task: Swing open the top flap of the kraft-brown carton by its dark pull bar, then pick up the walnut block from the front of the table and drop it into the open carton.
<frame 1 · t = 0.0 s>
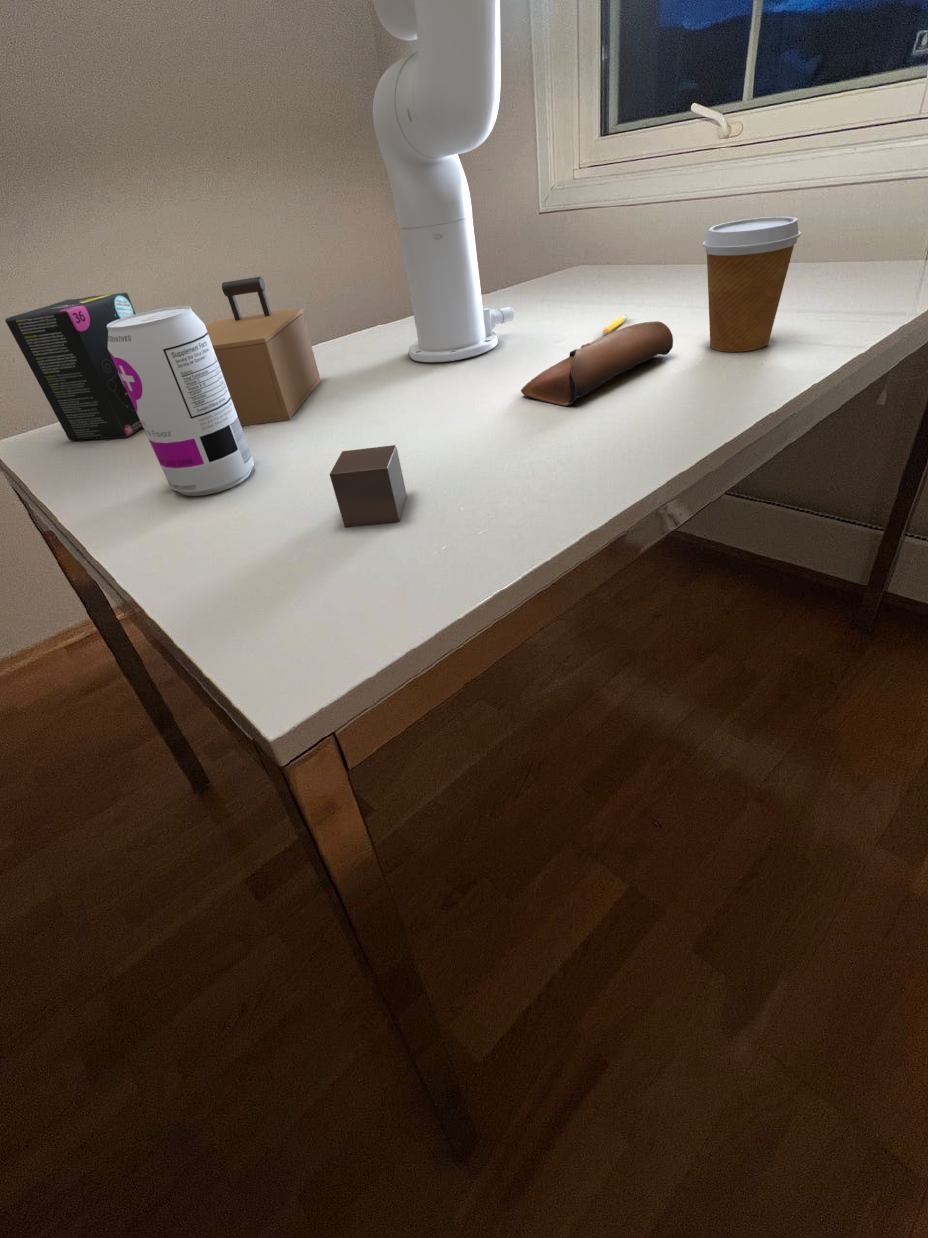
carton: (261, 404, 81), on the table
disposable coffee cup: (738, 345, 73), on the table
block: (376, 510, 52), on the table
pencil: (613, 329, 86), on the table
flap: (231, 310, 75), point 11 cm above the table, hinge at 0.0°
sunglasses case: (597, 378, 71), on the table
supplement can: (216, 481, 62), on the table
tampon box: (124, 425, 83), on the table
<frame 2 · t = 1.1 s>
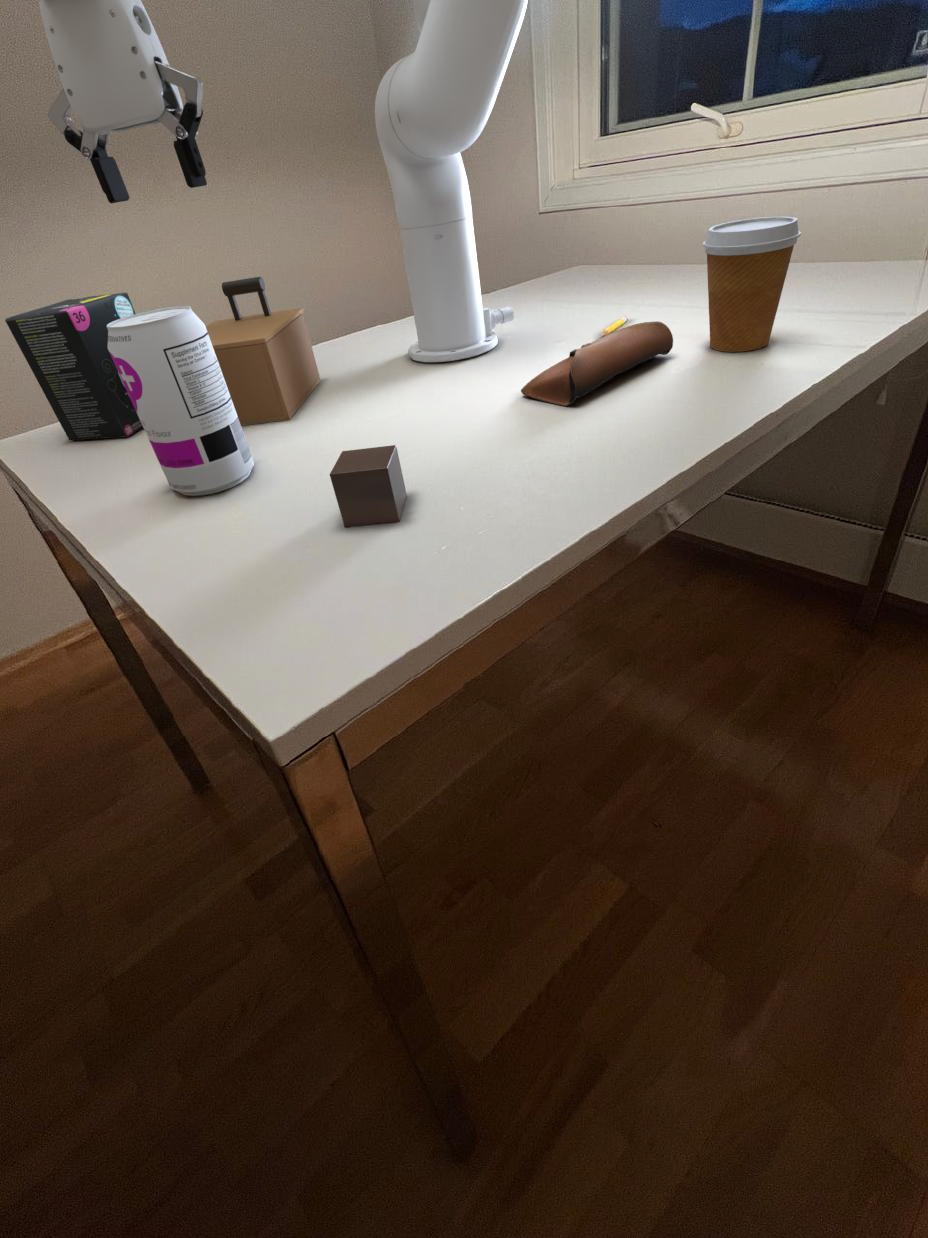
hand: (158, 194, 69), 23 cm above the table, tool pointing down, fingers open, 9 cm apart
nothing on the table moved.
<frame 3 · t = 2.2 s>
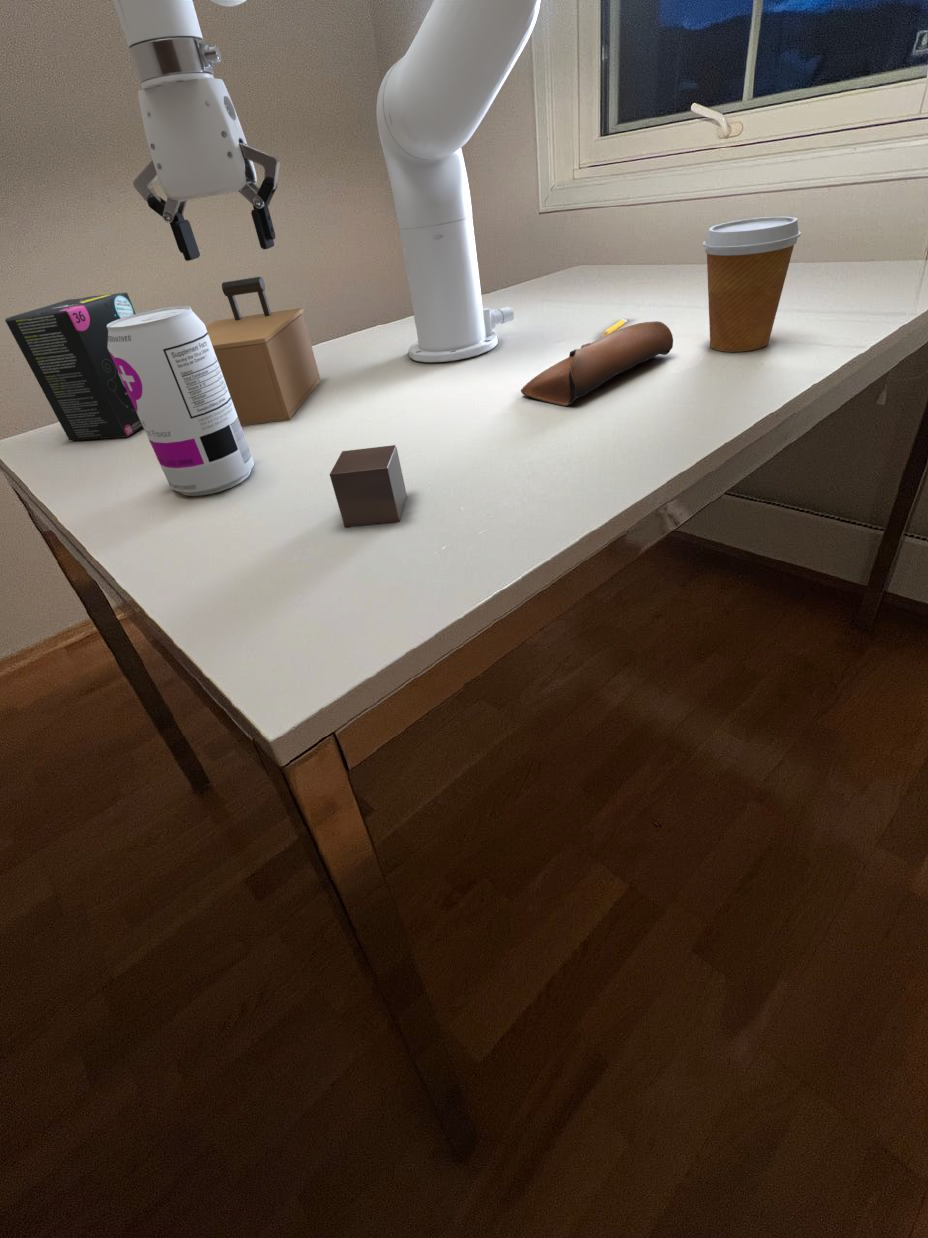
hand: (230, 253, 77), 16 cm above the table, tool pointing down, fingers open, 9 cm apart
nothing on the table moved.
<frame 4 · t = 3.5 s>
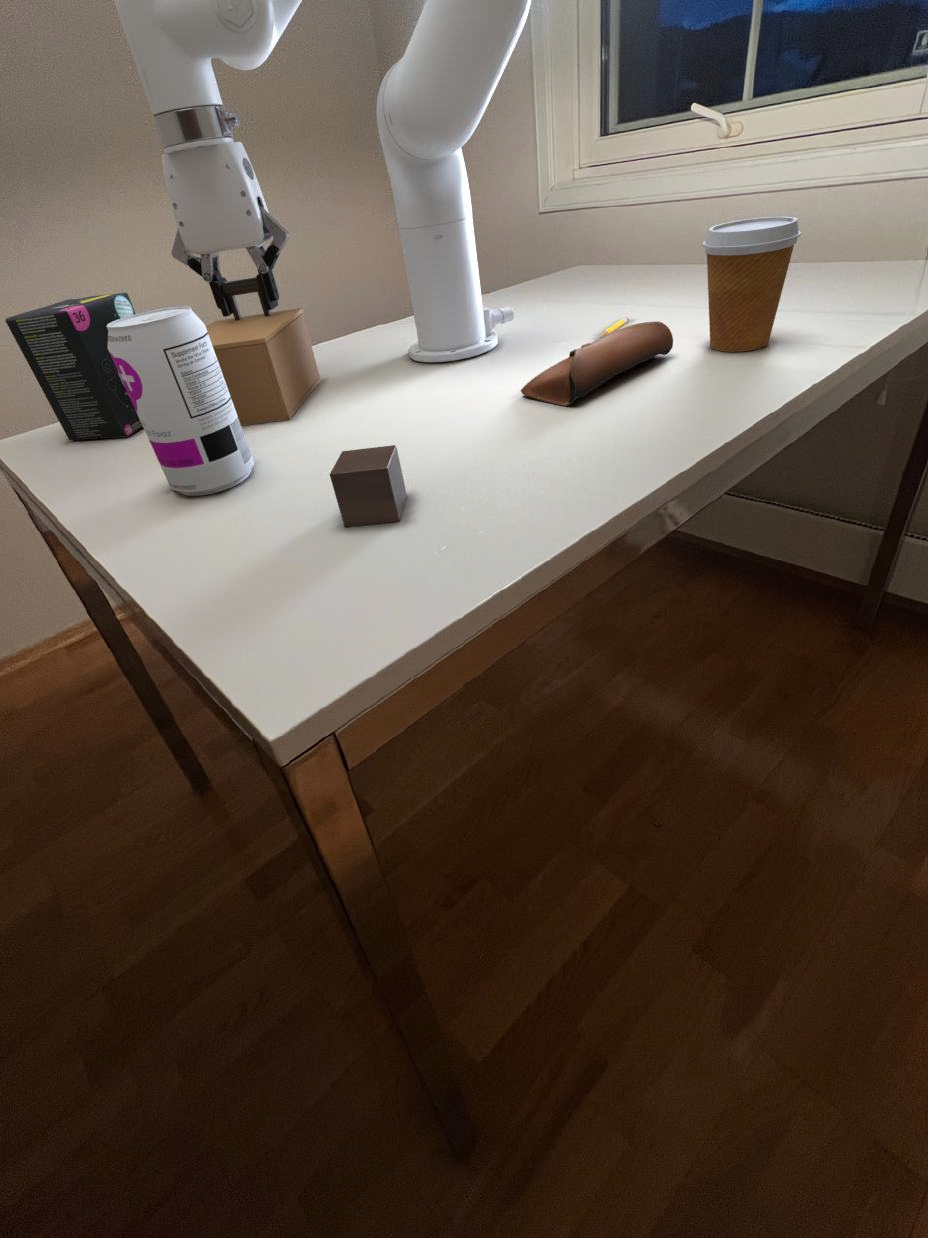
hand: (250, 309, 80), 10 cm above the table, tool pointing down, fingers closed on flap, 5 cm apart
flap: (231, 310, 75), point 11 cm above the table, hinge at 0.0°, touching gripper
everything else where it was.
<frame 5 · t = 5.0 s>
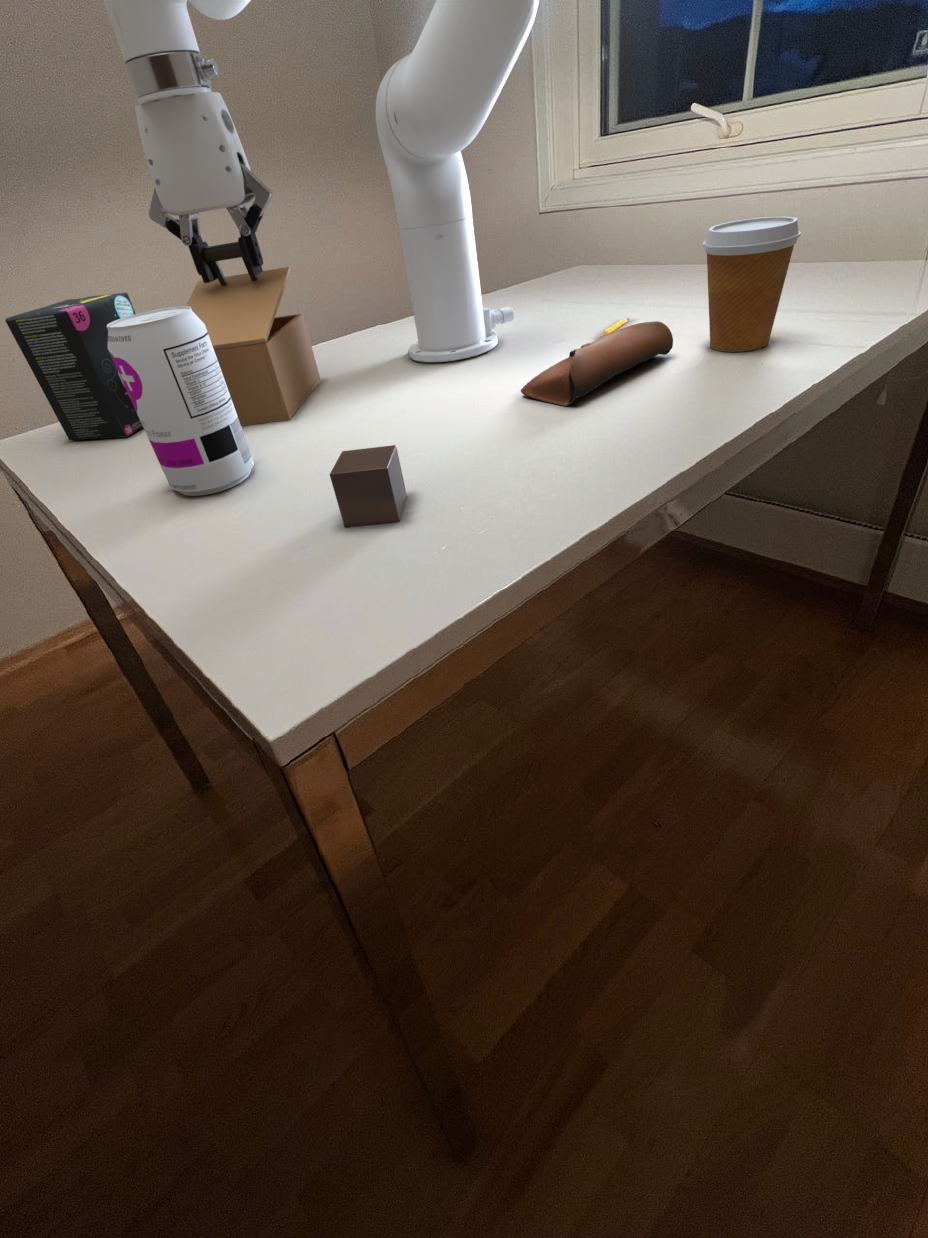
hand: (233, 275, 76), 14 cm above the table, tool pointing down, fingers closed on flap, 5 cm apart
flap: (221, 291, 73), point 13 cm above the table, hinge at 18.0°, touching gripper
everything else where it was.
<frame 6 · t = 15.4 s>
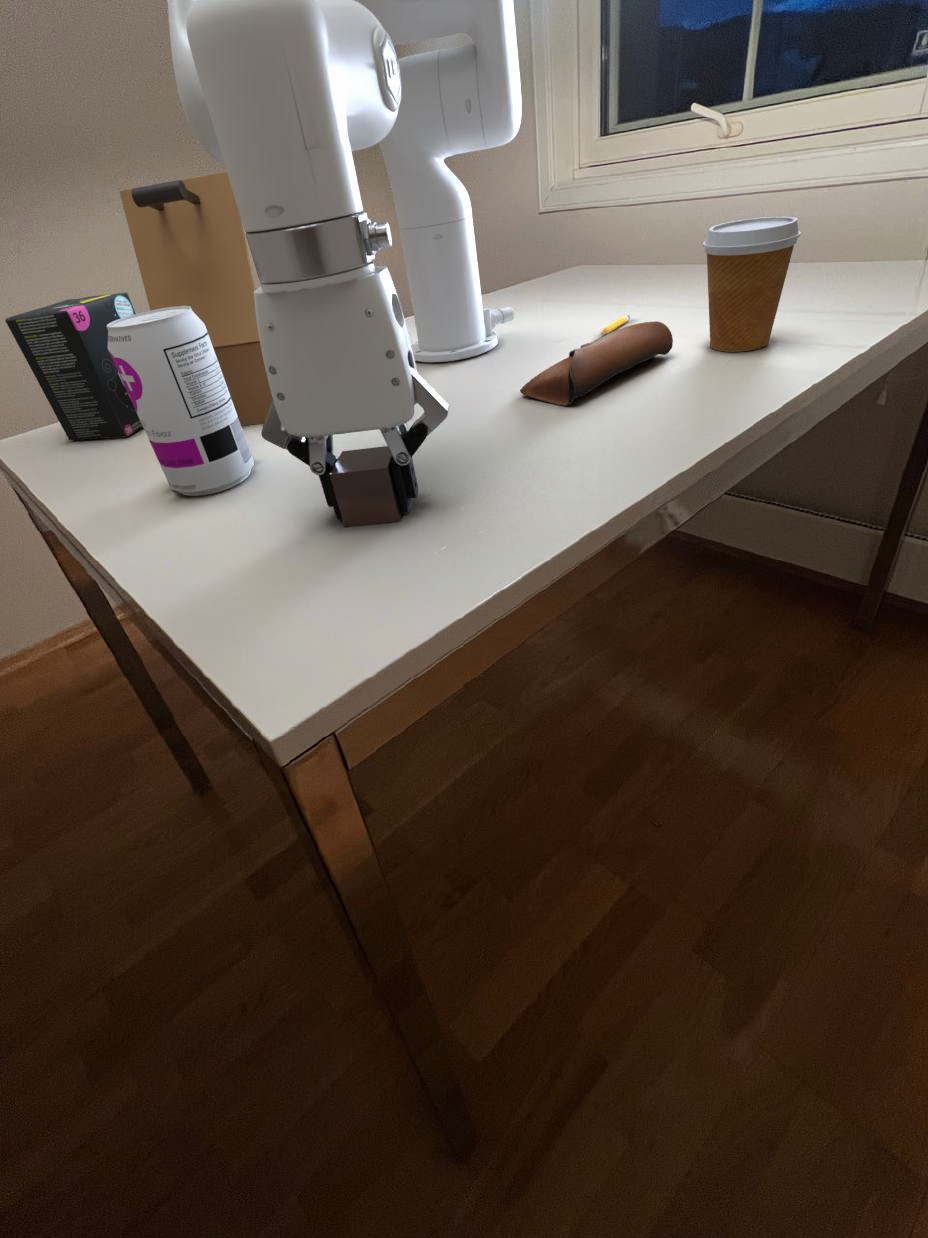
hand: (375, 506, 51), 0 cm above the table, tool pointing down, fingers closed on block, 4 cm apart
block: (376, 510, 52), on the table, touching gripper
flap: (184, 264, 65), point 17 cm above the table, hinge at 73.3°
everything else where it was.
when the fingers open (7 cm above the table, at t = 25.7 s): block drops 6 cm, resting on carton.
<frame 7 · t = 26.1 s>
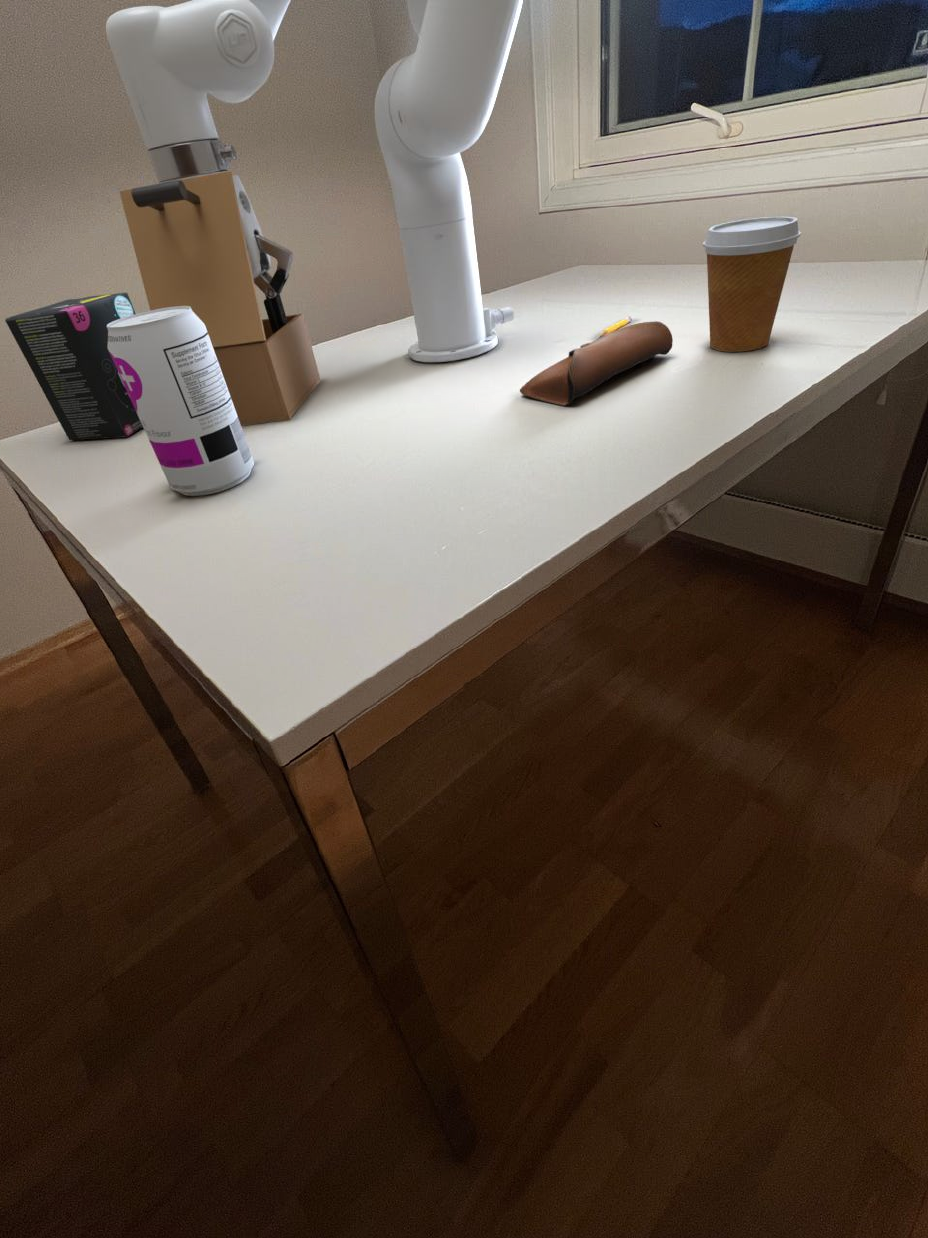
hand: (246, 336, 78), 8 cm above the table, tool pointing down, fingers open, 8 cm apart
block: (265, 394, 83), point 1 cm above the table, touching carton
everything else where it was.
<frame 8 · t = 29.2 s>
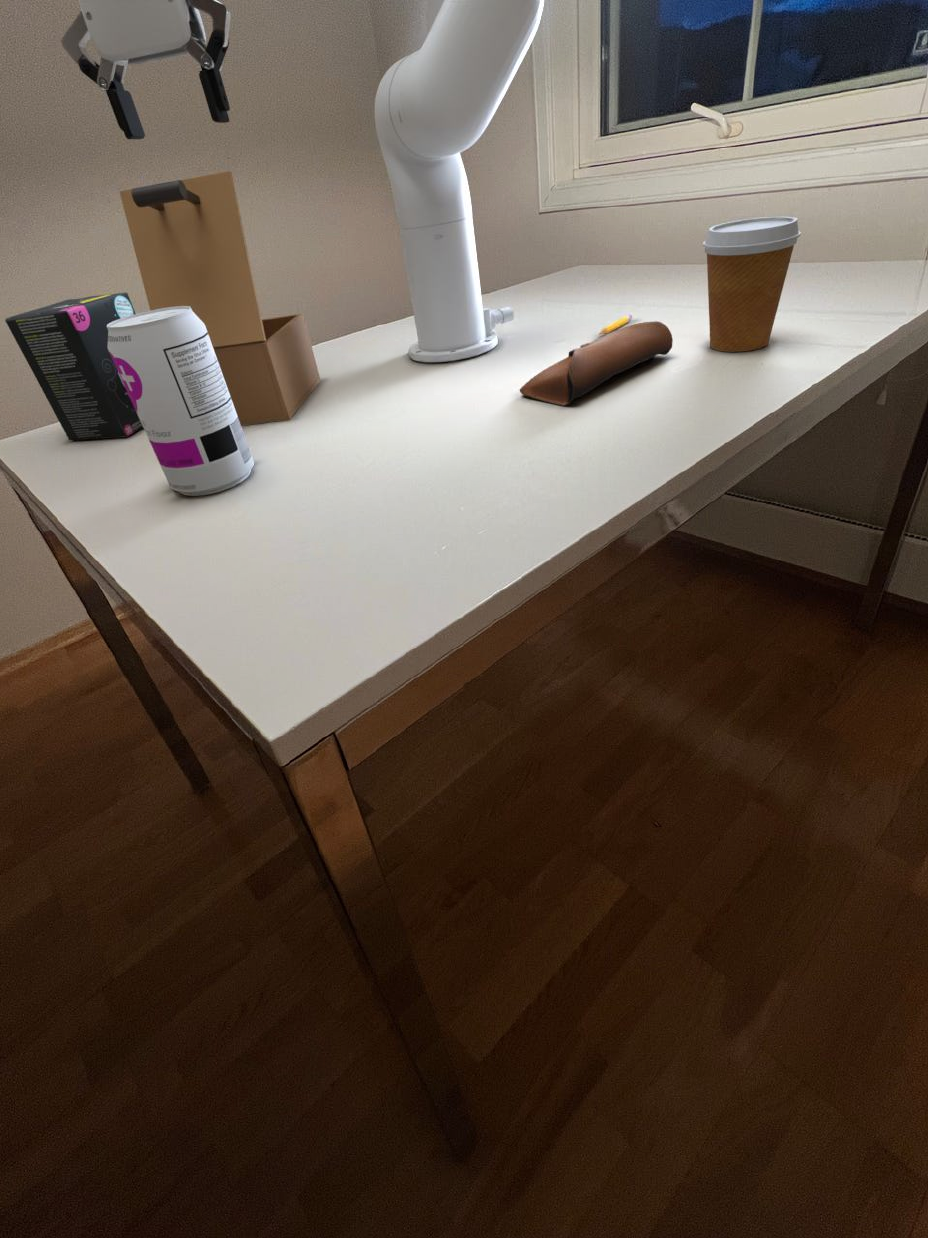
hand: (178, 130, 66), 28 cm above the table, tool pointing down, fingers open, 9 cm apart
nothing on the table moved.
at the end: flap at +73° (first picture: +0°); block inside the target area in the carton (2.0 cm from its centre), point 0.6 cm above the carton's base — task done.
